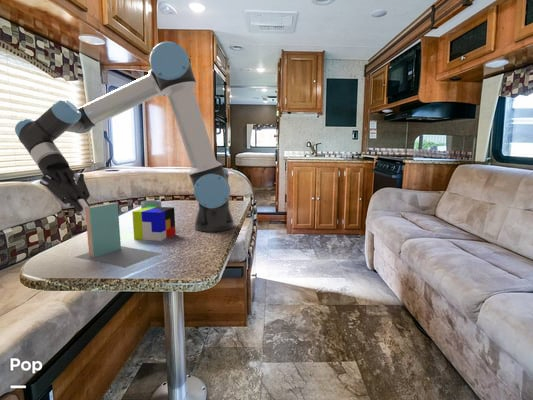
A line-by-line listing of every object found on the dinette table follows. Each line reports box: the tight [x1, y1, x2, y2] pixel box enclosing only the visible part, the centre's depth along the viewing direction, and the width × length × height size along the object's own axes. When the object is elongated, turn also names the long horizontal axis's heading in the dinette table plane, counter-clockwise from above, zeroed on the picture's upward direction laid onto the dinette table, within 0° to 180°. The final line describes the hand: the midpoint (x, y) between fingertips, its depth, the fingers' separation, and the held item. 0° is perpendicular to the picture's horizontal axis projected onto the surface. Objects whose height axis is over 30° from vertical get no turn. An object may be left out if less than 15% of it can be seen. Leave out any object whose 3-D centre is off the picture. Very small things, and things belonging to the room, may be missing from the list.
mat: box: [74, 245, 163, 268], centre depth 94 cm, size 20×13×1 cm, turn 64°
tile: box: [85, 202, 122, 257], centre depth 96 cm, size 2×9×14 cm, turn 154°
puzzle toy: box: [132, 206, 177, 242], centre depth 114 cm, size 10×10×10 cm
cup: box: [140, 199, 163, 209], centre depth 132 cm, size 8×8×10 cm
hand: (90, 218), depth 97 cm, fingers closed
